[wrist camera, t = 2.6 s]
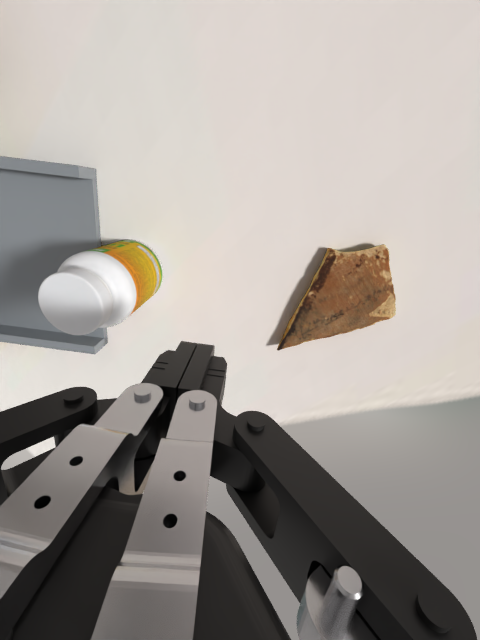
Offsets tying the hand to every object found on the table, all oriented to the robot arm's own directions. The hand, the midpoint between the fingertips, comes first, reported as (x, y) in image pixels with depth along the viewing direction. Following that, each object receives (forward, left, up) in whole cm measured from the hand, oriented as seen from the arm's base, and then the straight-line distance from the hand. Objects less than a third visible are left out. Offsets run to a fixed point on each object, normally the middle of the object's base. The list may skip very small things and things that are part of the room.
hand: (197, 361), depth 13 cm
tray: (0, -19, -14) cm, 23 cm away
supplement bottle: (0, -9, -14) cm, 16 cm away
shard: (+1, +10, -15) cm, 18 cm away
